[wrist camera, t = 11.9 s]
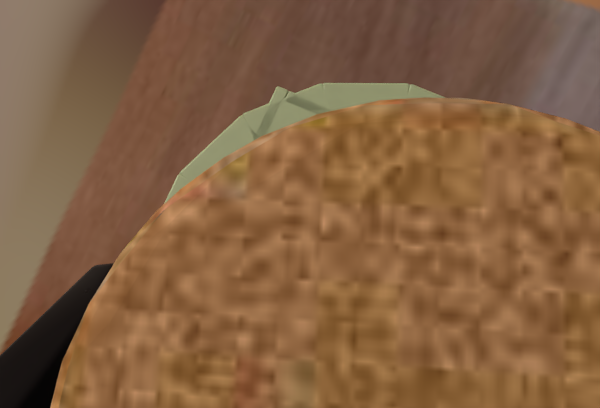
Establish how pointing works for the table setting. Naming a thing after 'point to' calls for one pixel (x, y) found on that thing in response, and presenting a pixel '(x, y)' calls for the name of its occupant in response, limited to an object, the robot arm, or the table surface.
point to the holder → (291, 117)
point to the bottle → (362, 271)
